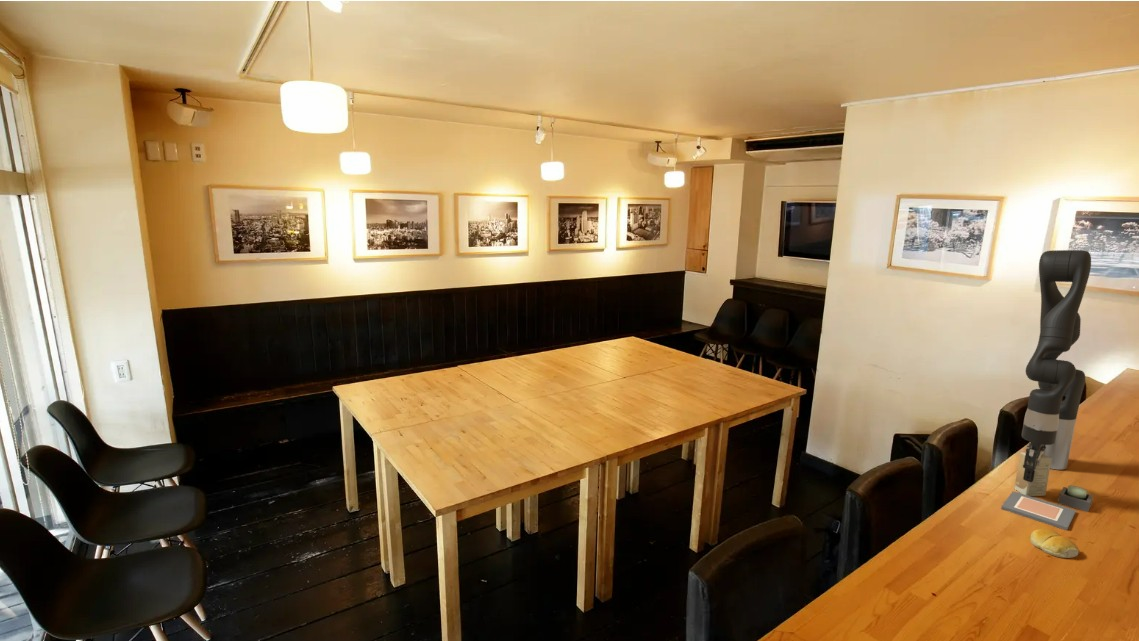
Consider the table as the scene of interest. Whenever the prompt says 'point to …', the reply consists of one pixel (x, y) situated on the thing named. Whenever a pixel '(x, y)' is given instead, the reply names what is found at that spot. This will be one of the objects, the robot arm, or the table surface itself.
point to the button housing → (1075, 500)
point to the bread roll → (1054, 543)
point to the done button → (1077, 491)
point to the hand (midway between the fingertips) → (1031, 476)
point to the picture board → (1039, 510)
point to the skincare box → (1040, 477)
